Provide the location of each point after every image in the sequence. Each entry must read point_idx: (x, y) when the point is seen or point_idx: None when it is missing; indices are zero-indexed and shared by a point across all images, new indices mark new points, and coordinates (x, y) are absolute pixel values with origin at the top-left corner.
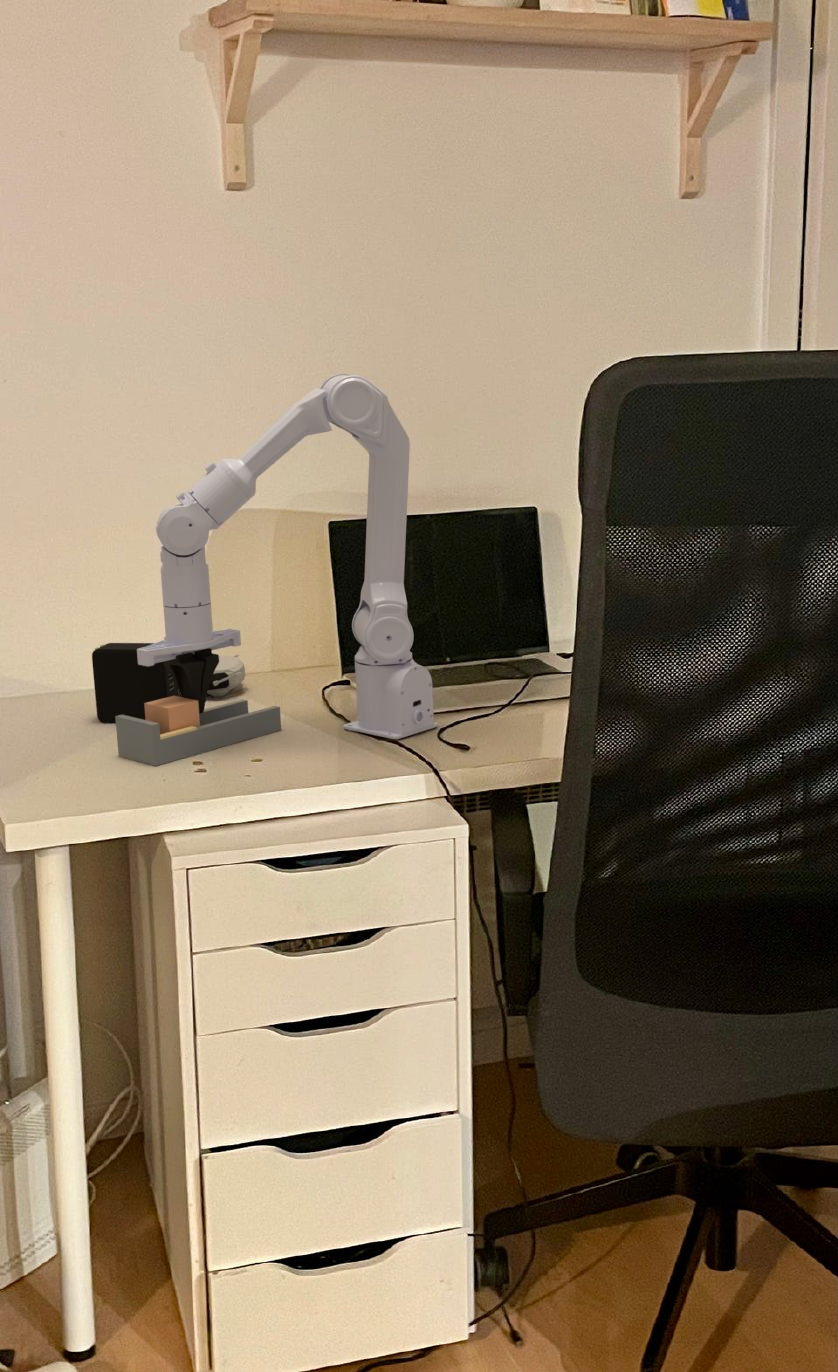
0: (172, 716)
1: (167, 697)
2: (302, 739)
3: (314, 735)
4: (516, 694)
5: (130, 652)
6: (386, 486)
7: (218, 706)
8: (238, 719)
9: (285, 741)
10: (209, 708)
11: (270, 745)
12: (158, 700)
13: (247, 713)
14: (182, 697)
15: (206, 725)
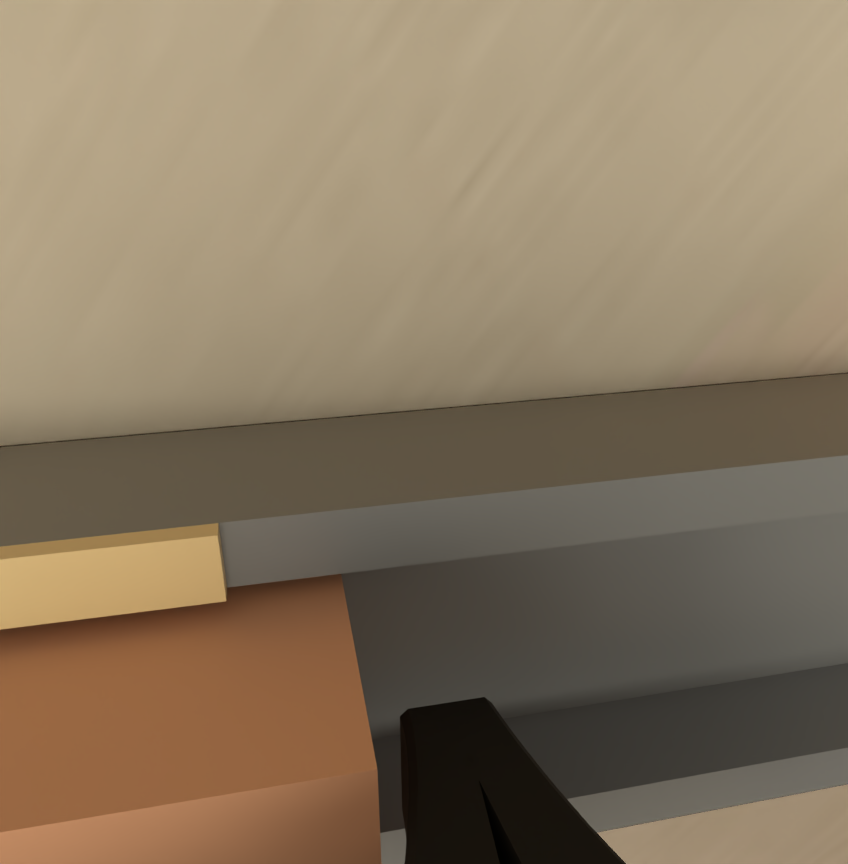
0: None
1: (269, 791)
2: (758, 836)
3: (835, 817)
4: None
5: None
6: None
7: (843, 479)
8: (633, 819)
9: (697, 820)
10: (765, 476)
11: (608, 832)
12: (103, 844)
13: (759, 768)
14: None
15: (388, 845)
